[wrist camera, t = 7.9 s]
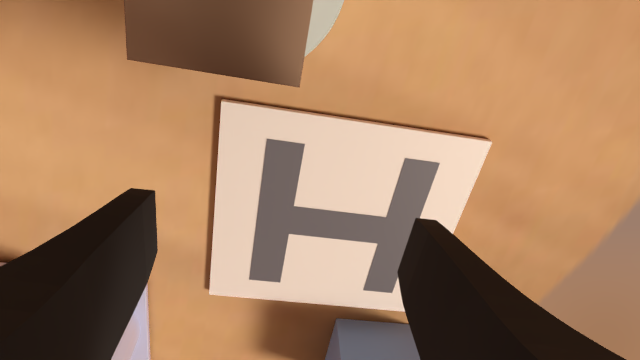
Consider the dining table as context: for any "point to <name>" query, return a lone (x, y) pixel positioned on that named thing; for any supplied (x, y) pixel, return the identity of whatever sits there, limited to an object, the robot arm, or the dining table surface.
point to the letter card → (328, 203)
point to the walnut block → (222, 36)
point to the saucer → (321, 21)
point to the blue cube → (371, 341)
